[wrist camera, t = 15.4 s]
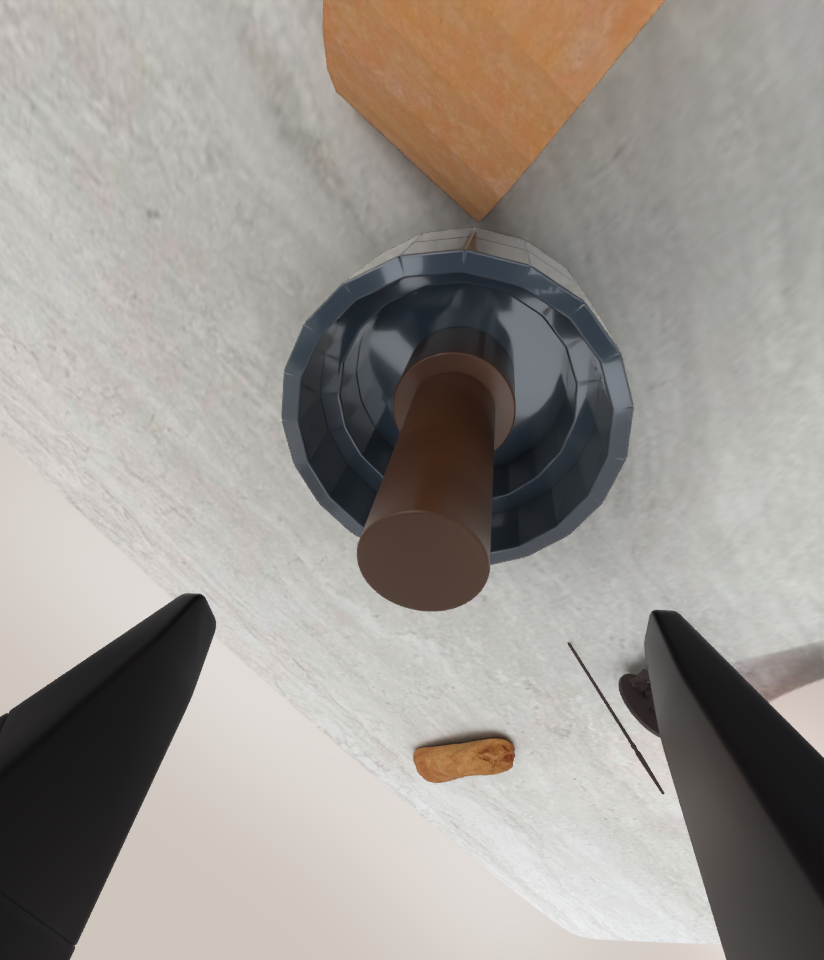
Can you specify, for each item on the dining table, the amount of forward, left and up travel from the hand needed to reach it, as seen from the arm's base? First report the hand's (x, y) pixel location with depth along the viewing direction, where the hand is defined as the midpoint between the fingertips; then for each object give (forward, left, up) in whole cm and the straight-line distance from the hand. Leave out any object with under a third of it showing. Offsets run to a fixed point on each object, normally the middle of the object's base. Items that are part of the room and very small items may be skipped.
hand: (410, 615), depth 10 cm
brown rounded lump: (+2, +26, -12) cm, 29 cm away
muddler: (0, 0, -12) cm, 12 cm away
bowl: (0, 0, -13) cm, 13 cm away
